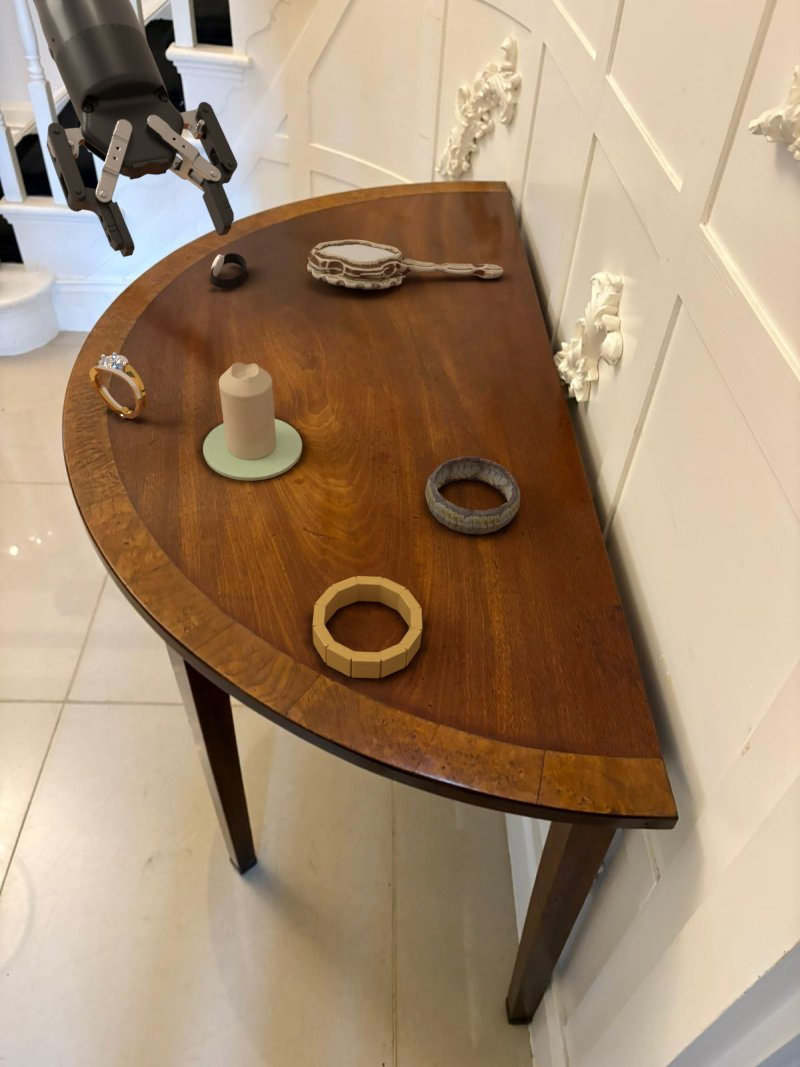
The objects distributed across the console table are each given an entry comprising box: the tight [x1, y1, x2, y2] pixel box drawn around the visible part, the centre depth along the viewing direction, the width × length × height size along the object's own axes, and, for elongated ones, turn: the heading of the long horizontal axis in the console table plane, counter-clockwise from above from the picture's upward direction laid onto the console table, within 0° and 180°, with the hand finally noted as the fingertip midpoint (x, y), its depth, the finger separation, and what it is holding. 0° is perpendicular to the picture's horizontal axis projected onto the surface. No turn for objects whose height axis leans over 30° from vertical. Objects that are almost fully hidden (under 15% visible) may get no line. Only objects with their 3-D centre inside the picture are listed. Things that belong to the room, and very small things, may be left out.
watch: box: [210, 252, 247, 289], centre depth 115 cm, size 8×5×4 cm, turn 164°
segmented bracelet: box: [312, 575, 423, 679], centre depth 70 cm, size 10×10×2 cm
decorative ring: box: [424, 456, 521, 535], centre depth 83 cm, size 10×3×10 cm
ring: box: [88, 351, 147, 420], centre depth 89 cm, size 7×3×8 cm, turn 57°
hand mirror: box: [306, 239, 504, 290], centre depth 117 cm, size 11×6×30 cm
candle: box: [218, 362, 276, 460], centre depth 85 cm, size 6×6×10 cm
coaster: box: [202, 418, 303, 482], centre depth 89 cm, size 11×11×1 cm
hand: (179, 242), depth 66 cm, fingers open, 8 cm apart
